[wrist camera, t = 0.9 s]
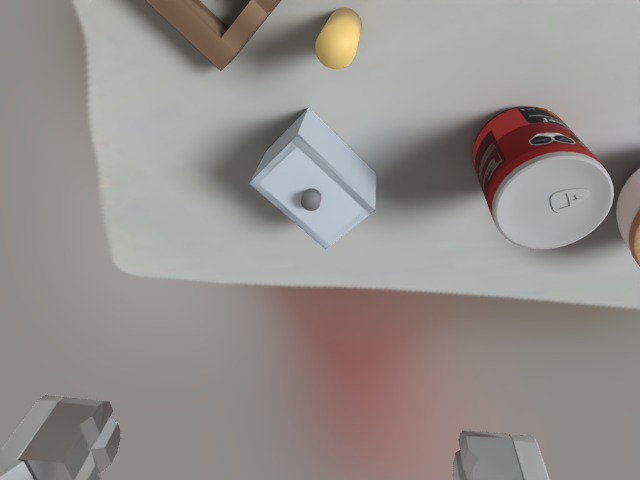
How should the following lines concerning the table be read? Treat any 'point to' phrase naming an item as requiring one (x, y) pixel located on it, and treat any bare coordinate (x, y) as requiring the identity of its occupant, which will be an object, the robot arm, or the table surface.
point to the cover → (316, 180)
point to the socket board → (214, 26)
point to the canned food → (540, 179)
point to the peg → (339, 39)
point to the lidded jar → (630, 214)
